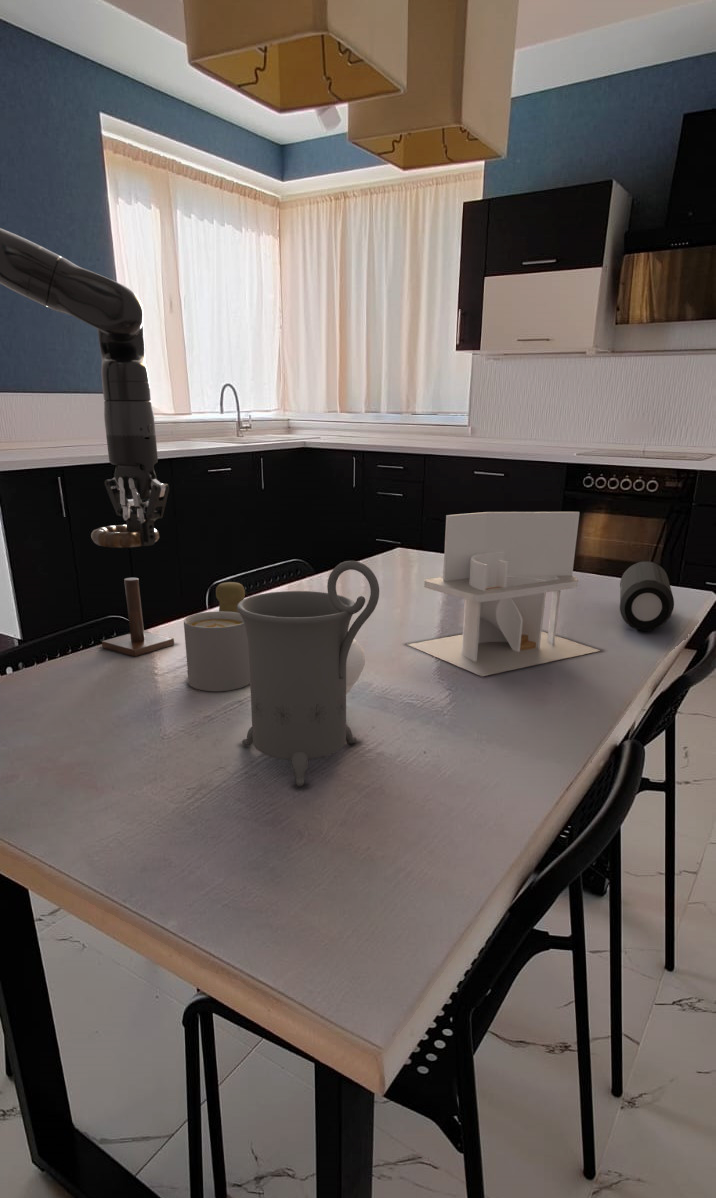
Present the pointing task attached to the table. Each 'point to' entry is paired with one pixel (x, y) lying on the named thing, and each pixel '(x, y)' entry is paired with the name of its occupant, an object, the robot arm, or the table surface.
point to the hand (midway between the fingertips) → (142, 543)
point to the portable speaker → (645, 596)
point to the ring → (118, 537)
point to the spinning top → (354, 664)
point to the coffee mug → (217, 651)
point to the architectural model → (506, 588)
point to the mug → (302, 668)
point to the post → (136, 628)
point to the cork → (229, 596)
